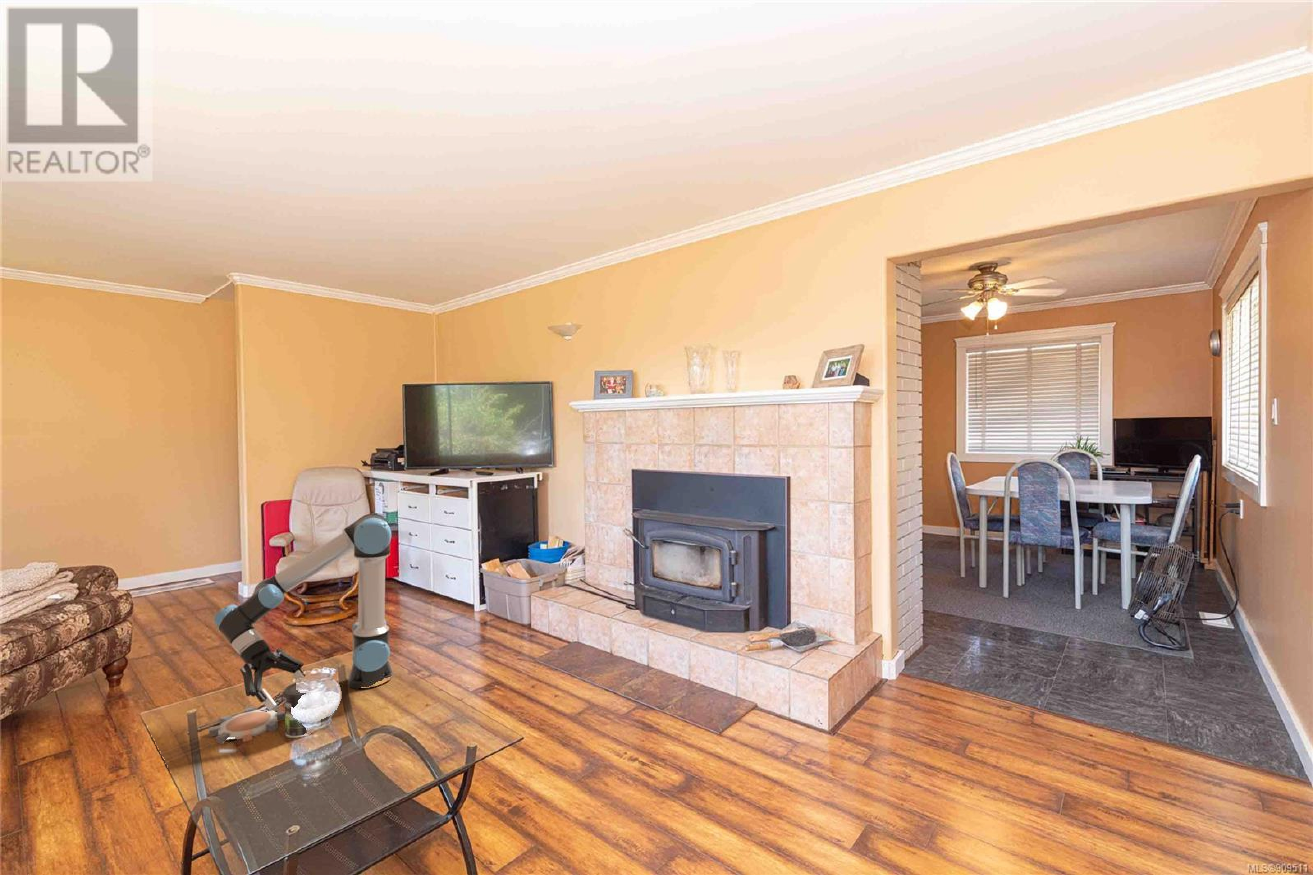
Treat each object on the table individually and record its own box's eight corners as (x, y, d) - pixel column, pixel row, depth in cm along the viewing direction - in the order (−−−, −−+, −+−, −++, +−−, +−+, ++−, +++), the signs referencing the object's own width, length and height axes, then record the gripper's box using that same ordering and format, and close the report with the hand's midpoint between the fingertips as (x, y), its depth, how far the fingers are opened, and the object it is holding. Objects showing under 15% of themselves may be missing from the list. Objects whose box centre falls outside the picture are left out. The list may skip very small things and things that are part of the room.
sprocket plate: (212, 721, 196) (212, 715, 196) (285, 704, 207) (284, 699, 207) (206, 751, 179) (206, 744, 179) (286, 731, 190) (286, 725, 190)
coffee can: (288, 742, 184) (287, 697, 183) (282, 728, 192) (281, 686, 191) (325, 730, 191) (324, 687, 190) (318, 718, 199) (317, 676, 198)
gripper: (276, 639, 206) (314, 687, 204) (208, 670, 182) (250, 724, 179) (289, 626, 205) (327, 673, 202) (222, 655, 181) (264, 709, 178)
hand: (291, 697), depth 191 cm, fingers open, 13 cm apart
